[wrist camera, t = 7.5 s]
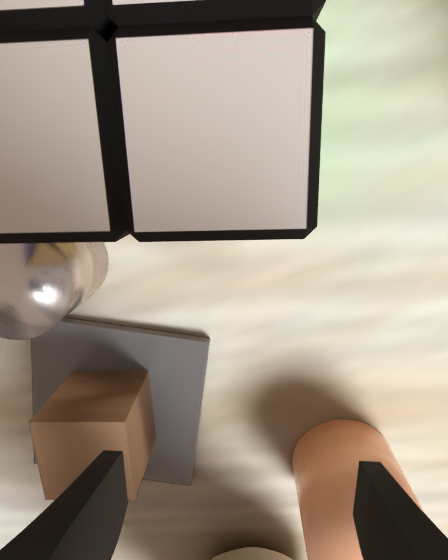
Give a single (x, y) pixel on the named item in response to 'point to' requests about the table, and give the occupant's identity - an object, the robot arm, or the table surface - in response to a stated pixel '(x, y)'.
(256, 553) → the beige bottle
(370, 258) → the table surface
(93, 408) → the walnut block
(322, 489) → the tan rounded cylinder
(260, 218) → the puzzle cube
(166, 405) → the slate coaster
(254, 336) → the table surface
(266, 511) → the table surface
